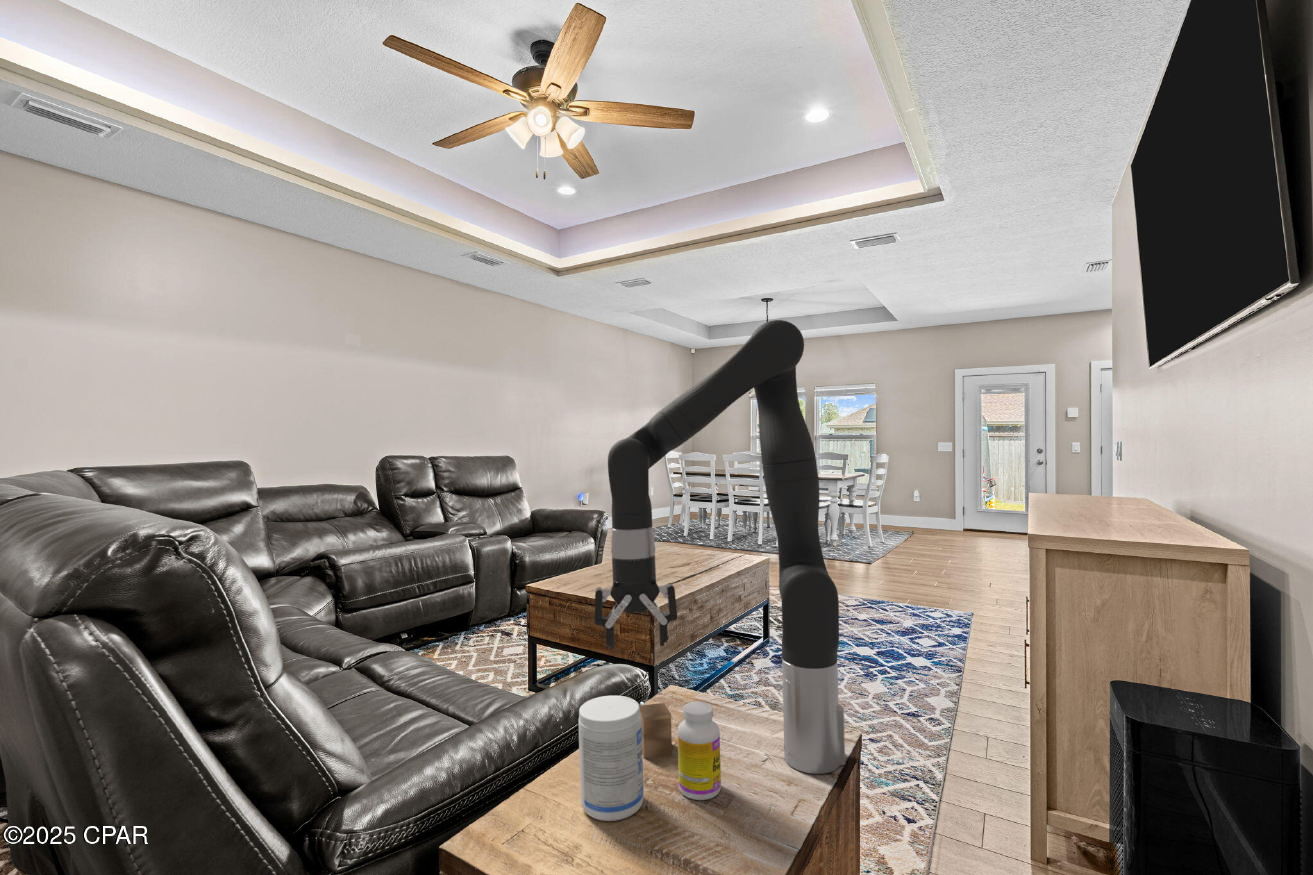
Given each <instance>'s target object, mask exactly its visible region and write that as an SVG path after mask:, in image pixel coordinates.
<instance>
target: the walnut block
mask: <svg viewBox="0 0 1313 875" xmlns="http://www.w3.org/2000/svg"><path fill="white" fill-rule="evenodd" d="M639 708H640V714H641V732H642V758H643V759H650V758H651V759H653V758H657V757H663V756H672V755H673V746H672V745H673V743H672V742H673V737H672V713H671V712H670V710H669V708H668V706H667V705H666V703H665V702H660V703H653V704H642V705H639Z"/></svg>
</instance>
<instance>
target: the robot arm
mask: <svg viewBox="0 0 1313 875" xmlns="http://www.w3.org/2000/svg"><path fill="white" fill-rule="evenodd" d="M804 350H805V340H804V337H803V334H802V332H801V330H800V328H798V327H797V326H796V325H795V324H794V323H792V322H790V321H787V320H784V319H783V320H781V319H773V320H770V321H766V322H764V323H762V324H760V326H758V327H757V328H756V329H755V330H754V332H753V333H752V335H751V336H750V337H749V338H748V340H747V341H746V342H745V343H744V344H743V345H742V346H741V347H740V348H739V349H738V350H737V351H736V352H735V353H734V354H733V355H732V356H731V357H730V358H729V359H727V360H726V361H725V362H724V363H723V364H722V365H721V366H719V367H718V368H717V369H715V370H714V371H713V372H712V373H710V374H709V375H707V376H706V377H705V378H703V379H702V380H701V381H699V382H698V383H696V384H695V385H693V386H692V387H690V388H689V389H687V390H686V391H685V392H684V393H682V394H681V395H679V396H677V397H676V398H675V399H673V400H672V401H670V402H669V403H668V404H667V405H666V406H664V407H663V408H662V409H661V410H658V411H657V412H656V413H655V414H654V415H653V416H652V417H651V418H650V419H649V420H648V421H647V423H645V424H643V426H641V427H640V428H639V429H637V430H636V431H634V432H632V434H630V435H629V436H627V437H626V438H623V439H620V440H618V441H617V442H615V443H614V444H613V445H612V446H611V447H610V449H609V452H608V454H607V474H608V483H609V488H610V489H609V490H610V494H611V526H612V529H611V539H610V540H611V545H610V546H611V548H610V553H611V568H612V587H611V588H602V587H599V586H598V587H596V588H595V591H594V592H595V593H594V597H595V598H594V624H595V625H596V626H601V627H604V629H605V639H606V640H605V641H606V646H607V647H609V648H610V651H612V650H613V651H614V650H615V648H616V645H615V625H614V624H615V623H616V621H617V620H618V619H619V618H620V617H621V615H622V613H623V612H624V613H626V614H628V615H629V614H633V613H640V614H642V613H646V612H647V611H650V613H651V614H652V615H653V617H655V619H657V622H658V640H659V641H658V642H659V647H665V643H666V644H667V643H668V638H669V636H668V625H669V623H670V622H673V621H676V620H677V619H678V608H677V600H676V591H675V587H674V584H673V583H672V582H668V583H667V584H666V585H665V584H664V585H658V584H657V574H656V573H657V570H656V544H655V534H654V530H653V529H654V527H653V509H652V501H651V497H650V490H649V489H650V485H649V484H650V480H649V477H650V476H649V472H650V471H649V470H650V469H651V468H652V467H653V466H654V465H656V464H657V463H658V462H659V461H660V460H662V459H663V458H664V457H665V456H667V454H669V453H670V452H671V451H674V450H676V449H677V448H679V447H680V446H682V445H683V444H685V443H686V442H688V440H690V439H691V438H692V437H695V435H697V434H698V433H699V432H701V431H702V430H703V429H704V428H706V427H707V426H708V425H709V424H711V423H712V421H714V420H716V418H718V416H720V415H721V414H722V413H723V412H725V410H726V409H728V408H729V407H730V406H731V405H732V404H733V403H735V402H736V401H738V400H739V399H740V398H742V396H744V395H745V394H747V393H748V392H749V391H751V390H753V389H754V395H755V398H756V403H757V404H756V405H757V411H758V432H759V446H760V455H761V456H760V457H761V458H760V459H761V465H762V467H761V468H762V472H763V473H762V474H763V480H764V481H763V482H764V487H765V491H766V496H767V502H768V505H769V506H768V507H769V511H770V515H771V517H772V521H773V525H774V530H775V533H776V539H777V549H778V551H777V552H778V574H779V575H778V576H779V577H778V578H779V579H778V590H779V594H780V598H781V622H782V623H781V624H782V625H781V626H782V629H781V630H782V631H781V632H782V633H781V636H782V638H781V667H782V668H781V669H782V674H781V675H782V676H781V677H782V705H783V706H782V708H783V710H782V711H783V750H784V753H783V754H784V755H783V756H784V757H783V758H784V760H785V762H786V763H787V764H788V765H789V766H790V767H791V768H793V769H795V770H797V771H800V772H803V773H806V774H811V775H812V774H815V775H820V774H822V775H824V774H829V773H831V772H834V771H836V770H837V769H838V768H839V767H841V766H845V765H846V748H845V747H846V746H845V745H846V744H845V743H846V742H845V741H846V739H845V736H846V734H845V711H844V710H845V709H844V707H843V706H842V705H841V704H840V703H839V701H840V700H839V677H838V676H839V673H838V672H839V671H838V670H839V668H838V651H839V650H838V649H839V645H840V609H839V608H840V603H839V602H840V601H839V594H838V589H837V586H836V584H835V582H834V581H833V579H832V578H831V576H830V575H829V573H828V569H827V567H826V562H825V558H824V555H823V549H822V544H821V539H820V534H819V533H820V532H819V516H820V515H819V514H820V480H819V472H818V464H817V458H816V452H815V447H814V444H813V440H812V437H811V433H810V430H809V429H808V426H807V422H806V420H805V419H804V415H803V413H802V409H801V405H800V402H799V395H798V385H797V384H798V383H797V365H799V363H800V361H801V359H802V357H803V355H804ZM659 594H662V596H663V598H665V599H667V603H668V604H667V606H668V612H666V613H664V612H663V611H662V609H661V608H660V607H659V606H658V604H657V603H656V602H655V601H656V600H657V599H658V596H659ZM609 596H610V597H611V598H612V599H613V601H614V602H615V605H614V606H613V608H612V609H611V611H610V613H609V614H608V616H603V603H605V602H607V600H608V598H609Z"/></svg>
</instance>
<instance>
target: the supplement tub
mask: <svg viewBox="0 0 1313 875" xmlns="http://www.w3.org/2000/svg"><path fill="white" fill-rule="evenodd" d="M639 706H640V704H639V703H638V701H636V700H635V699H633V698H631V697H628V696H624V695H604V696H603V695H602V696H598V697H595V698H591V699H589V700H587V701H585V702H584V703H582V704H581V706H580V707H579V711H578V716H579V717H578V746H579V747H578V750H579V776H580V777H579V778H580V779H579V781H580V803H581V807H582V809H583V811H584V812H585V813H586V815H588V816H589V817H592V818H594V819H595V820H598V821H603V822H613V821H620V820H624V819H626V818H628V817H631V816H633V815H634V814H636V813H637V812H638V811H639V809H640V808H641V807H642V804H643V802H644V795H645V794H644V768H643V767H644V766H643V762H644V761H643V754H642V732H641V714H640V708H639Z"/></svg>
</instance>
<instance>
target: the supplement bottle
mask: <svg viewBox="0 0 1313 875" xmlns="http://www.w3.org/2000/svg"><path fill="white" fill-rule="evenodd" d="M683 718H684V720H682V721H681V722H680V723H679V725H678V728H677V748H678V749H677V752H678V753H677V754H678V755H677V756H678V760H677V761H678V762H677V763H678V788H679V790H680V792H681V794H682V795H683V796H685V797H686V798H689V799H691V800H697V801H705V800H710V799H713V798H715V797H716V796H717V795H718V794H719V793H720V791H721V788H722V780H721V779H722V774H721V773H722V771H721V770H722V768H721V734H720V733H721V732H720V727H719V725H718V724H717V722H716V721H714V720H713V718H714V708H713V706H712V705H711V704H710V703H707V702H705V701H691V702H688V703H686V704H685V705H684V706H683Z"/></svg>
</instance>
